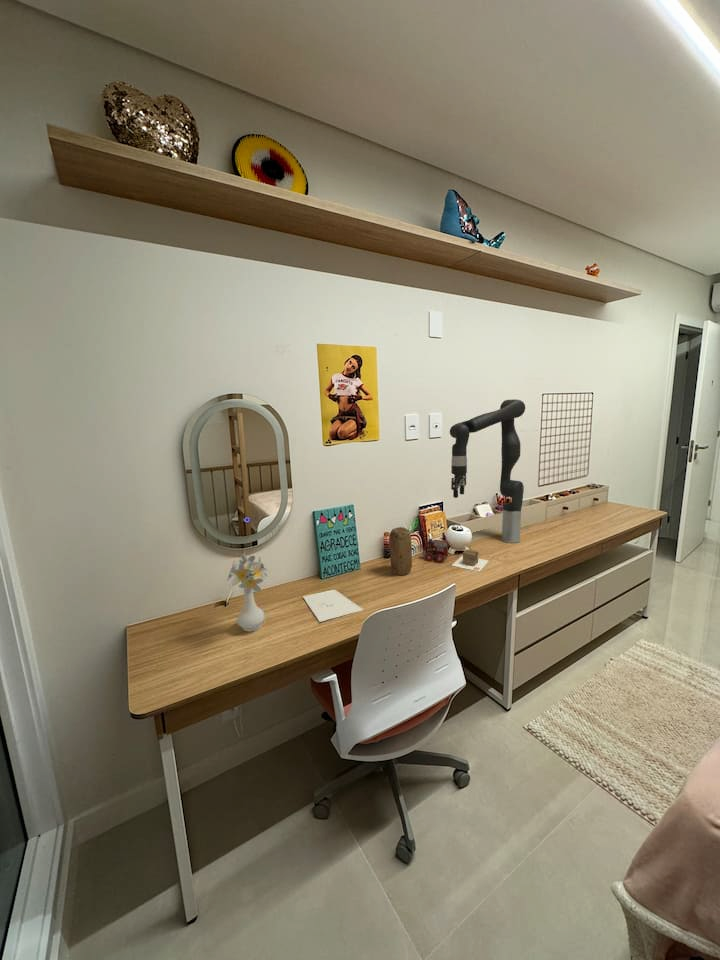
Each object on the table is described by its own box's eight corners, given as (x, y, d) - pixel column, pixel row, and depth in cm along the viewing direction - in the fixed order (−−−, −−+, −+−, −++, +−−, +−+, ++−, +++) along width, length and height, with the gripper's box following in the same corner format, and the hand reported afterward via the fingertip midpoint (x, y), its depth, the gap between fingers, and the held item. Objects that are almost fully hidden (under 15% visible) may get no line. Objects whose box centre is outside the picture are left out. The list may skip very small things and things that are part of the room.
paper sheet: (301, 595, 151) (301, 593, 151) (367, 584, 161) (367, 581, 160) (315, 625, 129) (315, 622, 129) (390, 609, 139) (390, 606, 139)
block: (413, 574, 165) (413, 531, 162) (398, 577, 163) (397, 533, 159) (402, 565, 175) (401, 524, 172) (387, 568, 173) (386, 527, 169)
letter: (462, 555, 183) (462, 555, 183) (488, 561, 176) (488, 560, 176) (451, 565, 172) (451, 565, 172) (479, 571, 165) (479, 571, 165)
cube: (466, 559, 178) (466, 548, 177) (478, 562, 175) (478, 551, 174) (462, 563, 173) (462, 552, 172) (474, 566, 170) (474, 554, 169)
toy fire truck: (425, 555, 187) (425, 535, 185) (450, 558, 181) (450, 538, 179) (421, 560, 180) (421, 539, 179) (446, 564, 175) (446, 543, 173)
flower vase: (244, 647, 118) (236, 574, 113) (227, 622, 132) (219, 556, 128) (282, 632, 125) (276, 562, 121) (261, 610, 140) (255, 547, 135)
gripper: (461, 466, 178) (460, 499, 181) (471, 462, 189) (470, 493, 192) (446, 466, 182) (446, 498, 185) (457, 462, 194) (457, 492, 197)
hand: (458, 495), depth 189 cm, fingers open, 8 cm apart
